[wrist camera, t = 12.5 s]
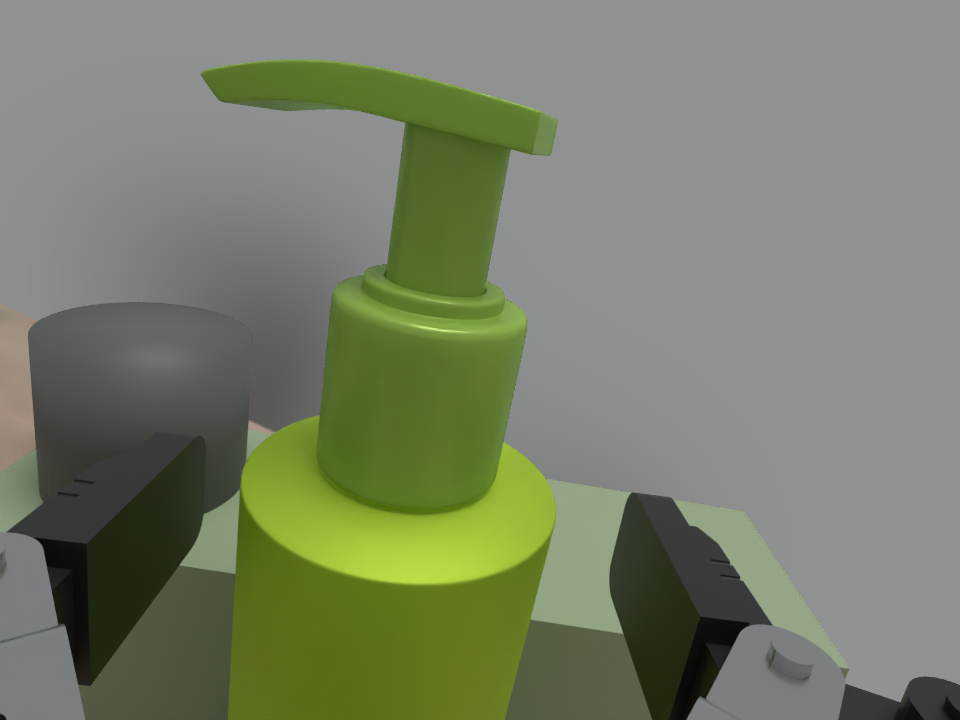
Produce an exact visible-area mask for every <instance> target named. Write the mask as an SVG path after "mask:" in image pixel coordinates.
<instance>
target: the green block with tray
mask: <svg viewBox="0 0 960 720" xmlns="http://www.w3.org/2000/svg"><path fill="white" fill-rule="evenodd" d="M28 343H29V357H30V371H31V384H32V398H33V412H34V426H35V440H36V449H34V450H33V451H31V452H30V453H28V454H27V455H25V456H24V457H22V458H21V459H20V460H18V461H17V462H15V463H14V464H12V465H11V466H9V467H8V468H6V469H5V470H4V471H2V472H1V473H0V532H1V533H5V532H7V531H8V530H9V529H11V528H12V527H13V526H14V525H16V524H17V523H18V522H20V521H21V520H22V519H23V518H25V517H26V516H27V515H29V514H30V513H31V512H32V511H34V510H35V509H36V508H38V507H39V506H40V505H41V504H43V503H44V502H45V501H47V500H48V499H49V498H50V497H52V496H53V495H55V496H56V495H57V492H58V491H59V490H61V489H62V488H63V487H64V486H66V485H67V484H68V483H70V482H72V483H73V481H74V479H75V478H76V477H77V476H79V475H80V474H81V473H82V472H84V471H85V470H86V469H88V468H89V467H90V466H91V465H93V464H94V463H97V462H99V461H102V460H104V459H107V458H109V457H112V456H114V455H117V454H119V453H122V452H123V453H131V452H132V451H133V450H135V449H136V448H137V447H138V446H140V445H141V444H142V443H143V442H144V441H146V440H147V439H148V438H149V437H150V436H152V435H153V434H154V433H155V432H157V431H159V430H161V431H169V432H177V433H184V434H192V435H199V436H202V437H203V438H204V440H205V444H206V462H205V492H204V515H203V521H202V526H201V529H200V533H199V535H198V538H197V540H196V542H195V544H194V546H193V547H192V549H191V550H190V552H189V553H188V554H187V556H186V557H185V558H184V560H183V561H182V562H181V564H180V565H179V566H178V568H177V569H176V571H175V572H174V573H173V575H172V576H171V577H170V579H169V580H168V581H167V583H166V584H165V586H164V587H163V588H162V590H161V591H160V592H159V594H158V595H157V596H156V598H155V599H154V600H153V602H152V603H151V605H150V606H149V607H148V609H147V610H146V611H145V613H144V614H143V615H142V617H141V618H140V620H139V621H138V622H137V624H136V625H135V626H134V628H133V629H132V630H131V632H130V633H129V634H128V636H127V637H126V639H125V640H124V641H123V643H122V644H121V645H120V647H119V648H118V649H117V651H116V652H115V654H114V655H113V656H112V658H111V659H110V660H109V662H108V663H107V664H106V666H105V667H104V668H103V670H102V671H101V673H100V674H99V675H98V677H97V678H96V679H95V681H94V682H93V683H92V685H91V686H84V685H78V687H79V692H80V697H81V702H82V706H83V711H84V716H85V720H228V704H229V685H230V666H231V647H232V628H233V609H234V590H235V572H236V553H237V534H238V515H239V496H240V480H241V474H242V471H243V468H244V465H245V463H246V461H247V459H248V458H249V456H250V455H251V453H252V452H253V451H254V450H255V448H256V447H257V446H258V445H259V444H260V443H262V442H263V441H264V440H265V439H266V438H268V437H269V436H271V435H272V434H271V433H265V432H259V431H253V430H248V421H249V403H250V384H251V368H252V350H253V335H252V332H251V331H250V329H249V328H248V327H246V326H245V325H244V324H242V323H241V322H239V321H237V320H235V319H233V318H231V317H229V316H226V315H223V314H220V313H217V312H213V311H209V310H205V309H201V308H195V307H189V306H183V305H175V304H163V303H144V302H142V303H140V302H129V303H108V304H98V305H90V306H83V307H78V308H73V309H69V310H64V311H61V312H57V313H55V314H52V315H49V316H47V317H45V318H43V319H41V320H39V321H38V322H36V323H35V324H34V325H33V326H32V327H31V328H30V330H29V332H28ZM546 481H547V482H548V484H549V486H550V488H551V490H552V493H553V495H554V499H555V504H556V521H555V526H554V530H553V534H552V538H551V542H550V546H549V550H548V553H547V557H546V561H545V565H544V569H543V573H542V577H541V581H540V585H539V588H538V592H537V596H536V600H535V604H534V608H533V612H532V616H531V619H530V623H529V627H528V631H527V635H526V639H525V643H524V647H523V651H522V654H521V658H520V662H519V666H518V670H517V674H516V678H515V682H514V686H513V689H512V693H511V697H510V701H509V705H508V709H507V713H506V717H505V720H652V718H651V715H650V712H649V709H648V706H647V703H646V700H645V697H644V694H643V691H642V688H641V685H640V682H639V679H638V676H637V673H636V670H635V667H634V664H633V661H632V658H631V655H630V652H629V649H628V646H627V643H626V640H625V637H624V634H623V631H622V628H621V625H620V622H619V619H618V616H617V613H616V610H615V607H614V604H613V601H612V598H611V594H610V587H609V573H610V565H611V560H612V556H613V552H614V548H615V544H616V540H617V536H618V532H619V528H620V524H621V520H622V516H623V512H624V508H625V504H626V501H627V499H628V497H629V495H630V494H631V493H629V492H623V491H617V490H611V489H605V488H599V487H593V486H587V485H581V484H575V483H568V482H562V481H556V480H550V479H546ZM674 502H675V503H676V505H677V506H678V508H679V510H680V511H681V513H682V514H683V516H684V518H685V519H686V521H687V522H688V524H689V526H696V527H698V528H699V529H701V530H702V531H703V532H704V533H706V534H707V535H708V536H709V537H711V538H712V539H713V540H714V541H716V542H717V543H718V544H719V546H720V547H721V549H722V550H723V552H724V553H725V555H726V556H727V558H728V559H729V560H730V565H733V566H734V568H735V569H736V571H737V572H738V574H739V575H740V580H741V581H744V583H745V584H746V586H747V587H748V589H749V590H750V592H751V593H752V595H753V596H754V598H755V599H756V601H757V602H758V604H759V605H760V607H761V608H762V610H763V611H764V613H765V614H766V616H767V617H768V619H769V620H770V622H771V623H772V625H773V626H776V627H780V628H783V629H786V630H789V631H792V632H794V633H796V634H798V635H800V636H802V637H804V638H806V639H808V640H809V641H811V642H812V643H814V644H816V645H817V646H818V647H820V648H821V649H822V650H824V651H825V652H826V653H827V654H828V655H829V656H830V657H831V658H832V659H833V660H834V661H835V662H836V664H837V665H838V667H839V668H840V669H841V671H842V673H843V675H844V679H845V677H846V675H847V673H848V671H849V667H848V666H847V664H846V663H845V661H844V660H843V658H842V657H841V655H840V654H839V652H838V651H837V649H836V648H835V646H834V645H833V643H832V642H831V640H830V639H829V637H828V636H827V634H826V633H825V631H824V630H823V628H822V627H821V626H820V624H819V622H818V621H817V619H816V618H815V616H814V615H813V614H812V612H811V611H810V609H809V608H808V606H807V605H806V603H805V602H804V600H803V599H802V597H801V596H800V594H799V593H798V591H797V590H796V588H795V587H794V585H793V584H792V582H791V581H790V579H789V578H788V576H787V575H786V573H785V572H784V570H783V569H782V567H781V566H780V564H779V563H778V561H777V560H776V558H775V557H774V556H773V554H772V553H771V551H770V550H769V548H768V547H767V545H766V544H765V542H764V541H763V539H762V538H761V536H760V535H759V533H758V532H757V530H756V529H755V527H754V526H753V524H752V523H751V521H750V520H749V518H748V517H747V515H746V514H745V512H744V511H738V510H732V509H726V508H720V507H714V506H708V505H702V504H695V503H690V502H683V501H677V500H674Z"/></svg>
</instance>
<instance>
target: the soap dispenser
mask: <svg viewBox="0 0 960 720" xmlns="http://www.w3.org/2000/svg"><path fill="white" fill-rule="evenodd" d="M201 76H202V77H203V79H204V80H205V82H206V83H207V85H208V86H209V88H210V89H211V90H212V92H213V93H214V94H215V96H216V97H217V98H218V99H219V100H220V101H222V102H225V103H232V104H239V105H247V106H254V107H260V108H268V109H275V110H282V111H298V110H317V109H339V110H354V111H361V112H366V113H370V114H374V115H378V116H382V117H386V118H390V119H393V120H397V121H401V122H405V129H404V137H403V145H402V152H401V160H400V168H399V177H398V185H397V192H396V199H395V207H394V215H393V223H392V231H391V238H390V247H389V254H388V262H387V264H383V265H378V266H373V267H371V268H369V269H367V270H366V271H365V273H364V275H359V276H355V277H351V278H348V279H345V280H343V281H341V282H340V283H339V284H338V285H337V286H336V287H335V288H334V291H333V294H332V300H331V308H330V317H329V327H328V337H327V348H326V358H325V368H324V378H323V388H322V398H321V408H320V415H319V416H315V417H311V418H308V419H304V420H301V421H299V422H296V423H294V424H291V425H289V426H287V427H284V428H282V429H280V430H279V431H277V432H275V433H274V434H272V435H271V436H269V437H268V438H266V439H265V440H264V441H263V442H262V443H260V444H259V445H258V446H257V447H256V448H255V450H254V451H253V452H252V453H251V455H250V456H249V458H248V459H247V461H246V463H245V465H244V468H243V471H242V474H241V480H240V496H239V515H238V534H237V553H236V572H235V590H234V609H233V628H232V647H231V666H230V685H229V704H228V720H505V717H506V713H507V709H508V705H509V701H510V697H511V693H512V689H513V686H514V682H515V678H516V674H517V670H518V666H519V662H520V658H521V654H522V651H523V647H524V643H525V639H526V635H527V631H528V627H529V623H530V619H531V616H532V612H533V608H534V604H535V600H536V596H537V592H538V588H539V585H540V581H541V577H542V573H543V569H544V565H545V561H546V557H547V553H548V550H549V546H550V542H551V538H552V534H553V530H554V526H555V521H556V504H555V499H554V495H553V493H552V490H551V488H550V486H549V484H548V482H547V481H546V479H545V478H544V476H543V475H542V474H541V472H540V471H539V470H538V469H537V468H536V467H535V466H534V465H533V464H532V463H531V462H530V461H529V460H528V459H527V458H526V457H525V456H523V455H522V454H521V453H520V452H518V451H517V450H515V449H514V448H513V447H511V446H509V445H508V444H506V443H505V442H504V436H505V432H506V427H507V423H508V418H509V413H510V409H511V404H512V399H513V395H514V390H515V385H516V380H517V376H518V371H519V367H520V362H521V357H522V352H523V348H524V343H525V338H526V332H527V322H528V321H527V317H526V315H525V313H524V312H523V310H522V309H521V308H520V307H518V306H517V305H515V304H514V303H512V302H511V301H509V300H508V299H505V294H504V292H503V291H502V290H501V289H500V288H499V287H497V286H495V285H494V284H492V283H490V282H488V281H487V275H488V270H489V264H490V259H491V254H492V248H493V243H494V237H495V232H496V226H497V221H498V216H499V210H500V205H501V200H502V194H503V189H504V183H505V178H506V172H507V167H508V162H509V156H510V151H511V149H512V150H516V151H520V152H524V153H527V154H532V155H547V156H550V155H551V153H552V148H553V143H554V138H555V134H556V129H557V124H558V120H557V119H556V118H554V117H552V116H550V115H547V114H545V113H543V112H541V111H539V110H536V109H533V108H530V107H526V106H523V105H520V104H516V103H513V102H510V101H506V100H503V99H500V98H496V97H492V96H489V95H486V94H482V93H479V92H475V91H472V90H468V89H465V88H461V87H457V86H454V85H450V84H446V83H443V82H439V81H435V80H431V79H428V78H424V77H420V76H415V75H411V74H407V73H402V72H398V71H394V70H389V69H383V68H378V67H373V66H367V65H360V64H353V63H345V62H335V61H323V60H322V61H321V60H272V61H260V62H250V63H242V64H234V65H228V66H222V67H217V68H212V69H208V70H205V71H203V72H202V73H201Z"/></svg>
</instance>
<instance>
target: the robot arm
mask: <svg viewBox="0 0 960 720" xmlns="http://www.w3.org/2000/svg"><path fill="white" fill-rule="evenodd" d="M205 462H206V444H205V440H204V438H203V437H202V436H199V435H192V434H184V433H177V432H169V431H161V430H159V431H157V432H155V433H154V434H153V435H152V436H150V437H149V438H148V439H147V440H146V441H144V442H143V443H142V444H141V445H140V446H138V447H137V448H136V449H135V450H133V451H132V452H131V453H123V452H122V453H119V454H117V455H114V456H112V457H109V458H107V459H104V460H102V461H99V462H97V463H94V464H93V465H91V466H90V467H89V468H88V469H86V470H85V471H84V472H82V473H81V474H80V475H79V476H77V477H76V478H75V479H74V481H73V483H72V482H70V483H68V484H67V485H66V486H64V487H63V488H62V489H61V490H59V491H58V492H57V495H56V496H55V495H53V496H52V497H50V498H49V499H48V500H47V501H45V502H44V503H43V504H41V505H40V506H39V507H38V508H36V509H35V510H34V511H32V512H31V513H30V514H29V515H27V516H26V517H25V518H23V519H22V520H21V521H20V522H18V523H17V524H16V525H14V526H13V527H12V528H11V529H9V530H8V531H7V532H5V533H1V532H0V720H85V716H84V711H83V706H82V702H81V697H80V692H79V687H78V685H84V686H91V685H92V683H93V682H94V681H95V679H96V678H97V677H98V675H99V674H100V673H101V671H102V670H103V668H104V667H105V666H106V664H107V663H108V662H109V660H110V659H111V658H112V656H113V655H114V654H115V652H116V651H117V649H118V648H119V647H120V645H121V644H122V643H123V641H124V640H125V639H126V637H127V636H128V634H129V633H130V632H131V630H132V629H133V628H134V626H135V625H136V624H137V622H138V621H139V620H140V618H141V617H142V615H143V614H144V613H145V611H146V610H147V609H148V607H149V606H150V605H151V603H152V602H153V600H154V599H155V598H156V596H157V595H158V594H159V592H160V591H161V590H162V588H163V587H164V586H165V584H166V583H167V581H168V580H169V579H170V577H171V576H172V575H173V573H174V572H175V571H176V569H177V568H178V566H179V565H180V564H181V562H182V561H183V560H184V558H185V557H186V556H187V554H188V553H189V552H190V550H191V549H192V547H193V546H194V544H195V542H196V540H197V538H198V535H199V533H200V529H201V526H202V521H203V515H204V492H205ZM609 587H610V594H611V598H612V601H613V604H614V607H615V610H616V613H617V616H618V619H619V622H620V625H621V628H622V631H623V634H624V637H625V640H626V643H627V646H628V649H629V652H630V655H631V658H632V661H633V664H634V667H635V670H636V673H637V676H638V679H639V682H640V685H641V688H642V691H643V694H644V697H645V700H646V703H647V706H648V709H649V712H650V715H651V718H652V720H960V685H958V684H956V683H953V682H950V681H947V680H944V679H939V678H934V677H918V678H915V679H913V680H912V681H910V682H909V685H908V686H907V688H906V691H905V693H904V695H903V698H902V700H901V702H897V701H894V700H891V699H888V698H885V697H882V696H880V695H876V694H873V693H871V692H868V691H865V690H862V689H859V688H856V687H853V686H850V685H847V684H845V679H844V675H843V673H842V671H841V669H840V668H839V667H838V665H837V664H836V662H835V661H834V660H833V659H832V658H831V657H830V656H829V655H828V654H827V653H826V652H825V651H824V650H822V649H821V648H820V647H818V646H817V645H816V644H814V643H812V642H811V641H809V640H808V639H806V638H804V637H802V636H800V635H798V634H796V633H794V632H792V631H789V630H786V629H783V628H780V627H776V626H773V625H772V623H771V622H770V620H769V619H768V617H767V616H766V614H765V613H764V611H763V610H762V608H761V607H760V605H759V604H758V602H757V601H756V599H755V598H754V596H753V595H752V593H751V592H750V590H749V589H748V587H747V586H746V584H745V583H744V581H741V580H740V575H739V574H738V572H737V571H736V569H735V568H734V566H733V565H730V560H729V559H728V558H727V556H726V555H725V553H724V552H723V550H722V549H721V547H720V546H719V544H718V543H717V542H716V541H714V540H713V539H712V538H711V537H709V536H708V535H707V534H706V533H704V532H703V531H702V530H701V529H699V528H698V527H696V526H689V524H688V522H687V521H686V519H685V518H684V516H683V514H682V513H681V511H680V510H679V508H678V506H677V505H676V503H675V502H674V500H673V499H672V498H670V497H663V496H656V495H648V494H641V493H631V494H630V495H629V497H628V499H627V501H626V504H625V508H624V512H623V516H622V520H621V524H620V528H619V532H618V536H617V540H616V544H615V548H614V552H613V556H612V560H611V565H610V573H609Z"/></svg>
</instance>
